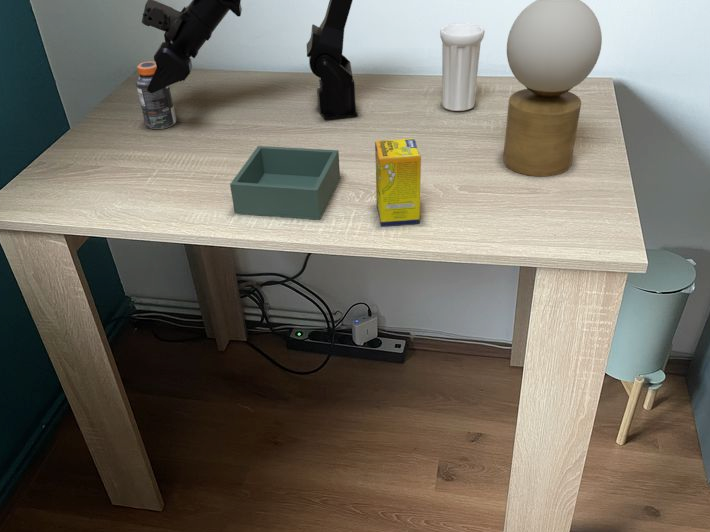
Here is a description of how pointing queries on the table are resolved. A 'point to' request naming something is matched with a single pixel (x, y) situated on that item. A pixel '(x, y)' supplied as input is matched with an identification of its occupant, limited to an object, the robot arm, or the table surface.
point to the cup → (460, 64)
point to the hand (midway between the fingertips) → (152, 82)
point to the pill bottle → (154, 99)
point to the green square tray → (286, 182)
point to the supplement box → (398, 181)
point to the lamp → (548, 83)
